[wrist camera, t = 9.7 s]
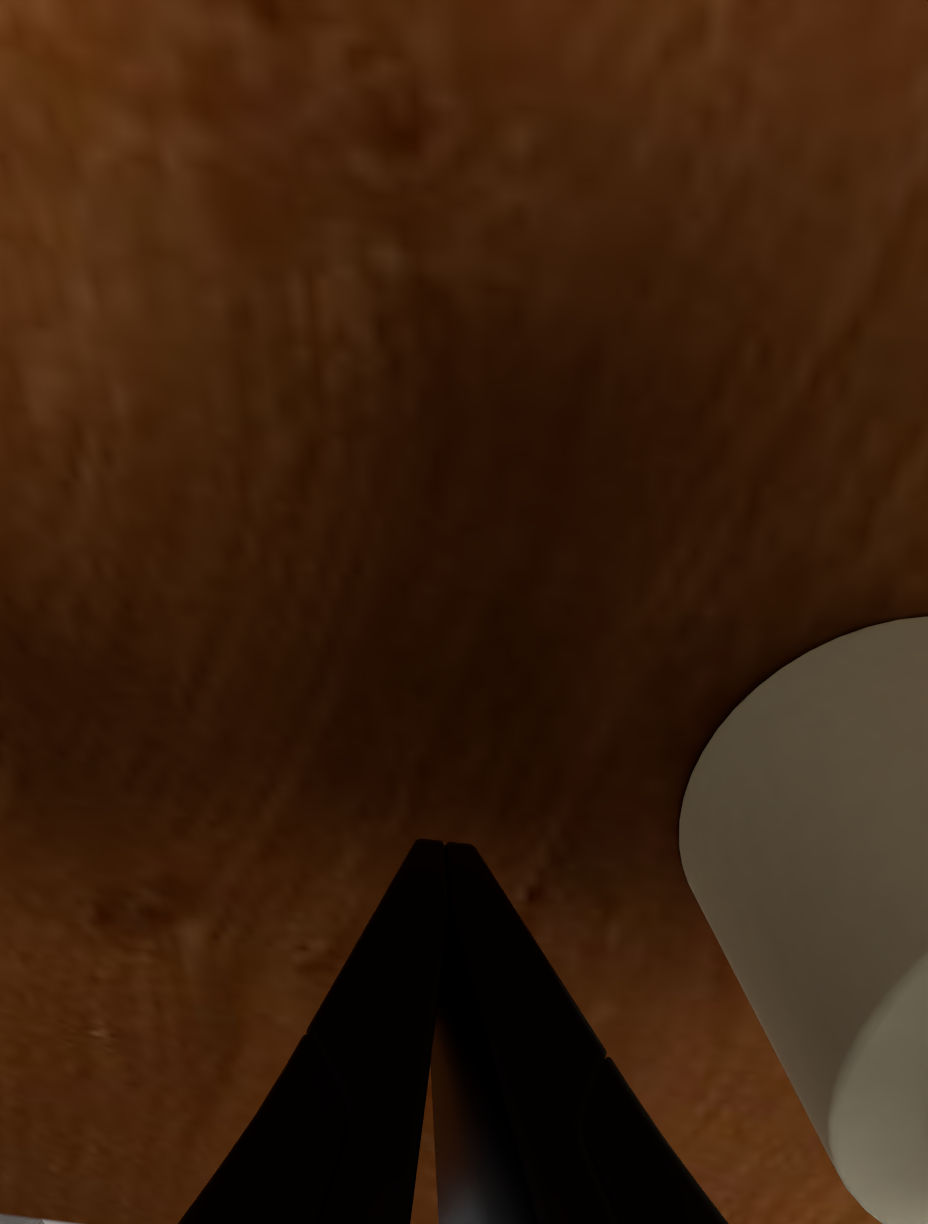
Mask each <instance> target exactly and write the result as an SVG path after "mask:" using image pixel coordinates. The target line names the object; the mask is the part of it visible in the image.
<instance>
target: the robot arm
mask: <svg viewBox="0 0 928 1224" xmlns="http://www.w3.org/2000/svg"><path fill="white" fill-rule="evenodd" d="M605 1057H606V1050H605V1048H604V1047H603V1045H602V1044H601V1042H600V1040H599V1039H598V1037H597V1036H596V1034H595V1033H594V1031H593V1030H592V1028H591V1026H590V1025H589V1023H588V1022H587V1020H586V1019H585V1017H584V1016H583V1014H582V1012H581V1011H580V1009H579V1008H578V1006H577V1005H576V1003H575V1002H574V1000H573V998H572V997H571V995H570V994H569V992H568V991H567V989H566V988H565V986H564V984H563V983H562V981H561V980H560V978H559V977H558V975H557V974H556V972H555V970H554V969H553V967H552V966H551V964H550V963H549V961H548V960H547V958H546V957H545V955H544V953H543V952H542V950H541V949H540V947H539V946H538V944H537V943H536V941H535V939H534V938H533V936H532V935H531V933H530V932H529V930H528V929H527V927H526V925H525V924H524V922H523V921H522V919H521V918H520V916H519V915H518V913H517V911H516V910H515V908H514V907H513V905H512V904H511V902H510V901H509V899H508V897H507V896H506V894H505V893H504V891H503V890H502V888H501V887H500V885H499V883H498V882H497V880H496V879H495V877H494V876H493V874H492V873H491V871H490V869H489V868H488V866H487V865H486V863H485V862H484V860H483V859H482V857H481V855H480V854H479V852H478V851H477V849H476V848H475V847H474V846H473V845H472V844H468V843H459V842H447V843H446V844H445V845H444V843H443V842H442V841H440V840H432V839H422V838H419V839H417V840H416V841H415V842H414V844H413V845H412V847H411V849H410V851H409V852H408V854H407V856H406V858H405V859H404V861H403V863H402V865H401V866H400V868H399V870H398V872H397V873H396V875H395V877H394V879H393V880H392V882H391V884H390V886H389V887H388V889H387V891H386V893H385V894H384V896H383V898H382V900H381V901H380V903H379V905H378V906H377V908H376V910H375V912H374V913H373V915H372V917H371V919H370V920H369V922H368V924H367V926H366V927H365V929H364V931H363V933H362V934H361V936H360V938H359V940H358V941H357V943H356V945H355V947H354V948H353V950H352V952H351V954H350V955H349V957H348V959H347V961H346V962H345V964H344V966H343V967H342V969H341V971H340V973H339V974H338V976H337V978H336V980H335V981H334V983H333V985H332V987H331V988H330V990H329V992H328V994H327V995H326V997H325V999H324V1001H323V1002H322V1004H321V1006H320V1008H319V1009H318V1011H317V1013H316V1015H315V1016H314V1018H313V1020H312V1022H311V1023H310V1025H309V1027H308V1029H307V1032H306V1035H304V1036H303V1037H302V1038H301V1040H300V1042H299V1043H298V1045H297V1047H296V1049H295V1050H294V1052H293V1054H292V1056H291V1057H290V1059H289V1061H288V1063H287V1064H286V1066H285V1068H284V1069H283V1071H282V1072H281V1074H280V1076H279V1077H278V1079H277V1081H276V1082H275V1084H274V1085H273V1087H272V1089H271V1090H270V1092H269V1094H268V1095H267V1097H266V1098H265V1100H264V1102H263V1103H262V1105H261V1107H260V1108H259V1110H258V1111H257V1113H256V1115H255V1116H254V1117H253V1119H252V1120H251V1122H250V1123H249V1125H248V1126H247V1128H246V1129H245V1130H244V1132H243V1133H242V1135H241V1136H240V1138H239V1139H238V1141H237V1142H236V1144H235V1145H234V1146H233V1148H232V1149H231V1151H230V1152H229V1154H228V1155H227V1157H226V1158H225V1159H224V1161H223V1162H222V1164H221V1165H220V1167H219V1168H218V1169H217V1171H216V1172H215V1174H214V1175H213V1176H212V1178H211V1179H210V1180H209V1182H208V1183H207V1184H206V1186H205V1187H204V1189H203V1190H202V1191H201V1193H200V1194H199V1195H198V1197H197V1198H196V1200H195V1201H194V1202H193V1204H192V1205H191V1206H190V1208H189V1209H188V1210H187V1212H186V1213H185V1215H184V1216H183V1217H182V1219H181V1220H180V1221H179V1223H178V1224H410V1220H411V1212H412V1204H413V1197H414V1189H415V1181H416V1173H417V1165H418V1157H419V1149H420V1141H421V1133H422V1125H423V1117H424V1109H425V1101H426V1093H427V1085H428V1078H429V1070H430V1064H431V1083H432V1102H433V1121H434V1140H435V1159H436V1178H437V1197H438V1216H439V1224H728V1222H727V1221H726V1220H725V1219H724V1217H723V1216H722V1215H721V1213H720V1212H719V1211H718V1209H717V1208H716V1207H715V1206H714V1204H713V1203H712V1202H711V1200H710V1199H709V1198H708V1196H707V1195H706V1194H705V1192H704V1191H703V1190H702V1188H701V1187H700V1186H699V1184H698V1183H697V1182H696V1180H695V1179H694V1178H693V1176H692V1175H691V1174H690V1172H689V1171H688V1169H687V1168H686V1167H685V1165H684V1164H683V1163H682V1161H681V1160H680V1159H679V1157H678V1156H677V1155H676V1153H675V1152H674V1151H673V1149H672V1148H671V1146H670V1145H669V1144H668V1142H667V1141H666V1140H665V1138H664V1137H663V1136H662V1134H661V1133H660V1131H659V1130H658V1128H657V1127H656V1125H655V1124H654V1122H653V1121H652V1119H651V1118H650V1116H649V1115H648V1113H647V1112H646V1110H645V1109H644V1107H643V1106H642V1104H641V1103H640V1102H639V1100H638V1099H637V1097H636V1096H635V1094H634V1093H633V1091H632V1090H631V1088H630V1087H629V1085H628V1084H627V1082H626V1080H625V1079H624V1077H623V1076H622V1074H621V1073H620V1071H619V1070H618V1068H617V1066H616V1065H615V1063H614V1062H613V1060H612V1059H611V1058H610V1057H606V1058H605Z"/></svg>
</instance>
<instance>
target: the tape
mask: <svg viewBox="0 0 928 1224" xmlns="http://www.w3.org/2000/svg"><path fill="white" fill-rule="evenodd" d="M679 848H680V854H681V861H682V866H683V869H684V872H685V875H686V878H687V881H688V884H689V886H690V888H691V890H692V892H693V894H694V896H695V898H696V900H697V902H698V903H699V905H700V907H701V909H702V911H703V913H704V915H705V917H706V919H707V921H708V923H709V925H710V927H711V929H712V931H713V933H714V934H715V936H716V938H717V940H718V942H719V944H720V946H721V948H722V950H723V952H724V954H725V956H726V958H727V960H728V962H729V964H730V966H731V967H732V969H733V971H734V973H735V975H736V977H737V979H738V981H739V983H740V985H741V987H742V989H743V991H744V993H745V995H746V997H747V998H748V1000H749V1002H750V1004H751V1006H752V1008H753V1010H754V1012H755V1014H756V1016H757V1018H758V1020H759V1022H760V1024H761V1026H762V1028H763V1030H764V1031H765V1033H766V1035H767V1037H768V1039H769V1041H770V1043H771V1045H772V1047H773V1049H774V1051H775V1053H776V1055H777V1057H778V1059H779V1061H780V1062H781V1064H782V1066H783V1068H784V1070H785V1072H786V1074H787V1076H788V1078H789V1080H790V1082H791V1084H792V1086H793V1088H794V1090H795V1092H796V1094H797V1095H798V1097H799V1099H800V1101H801V1103H802V1105H803V1107H804V1109H805V1111H806V1113H807V1115H808V1117H809V1119H810V1121H811V1123H812V1125H813V1126H814V1128H815V1130H816V1132H817V1134H818V1136H819V1138H820V1140H821V1142H822V1144H823V1146H824V1148H825V1150H826V1152H827V1154H828V1156H829V1158H830V1159H831V1161H832V1163H833V1165H834V1167H835V1169H836V1171H837V1173H838V1174H839V1176H840V1178H841V1180H842V1182H843V1184H844V1185H845V1187H846V1188H847V1190H848V1191H849V1192H850V1193H851V1194H852V1195H853V1196H854V1198H855V1199H856V1200H857V1201H858V1202H859V1203H860V1204H861V1206H862V1207H863V1208H864V1209H865V1210H866V1211H867V1212H868V1213H870V1214H871V1215H872V1216H874V1217H875V1218H876V1219H878V1220H879V1221H880V1222H881V1223H883V1224H928V616H926V617H917V618H909V619H901V620H895V621H891V622H886V623H882V624H878V625H874V626H870V627H866V628H863V629H860V630H858V631H855V632H852V633H849V634H846V635H844V636H841V637H838V638H836V639H834V640H831V641H829V642H827V643H825V644H823V645H821V646H819V647H817V648H815V649H813V650H811V651H809V652H807V653H805V654H804V655H802V656H800V657H799V658H797V659H796V660H794V661H792V662H791V663H789V664H787V665H786V666H784V667H783V668H781V669H780V670H778V671H777V672H776V673H775V674H773V675H772V676H771V677H769V678H768V679H767V680H765V681H764V682H763V683H762V684H760V685H759V686H758V687H757V688H755V689H754V690H753V691H752V692H751V693H750V694H749V695H748V696H747V697H746V698H745V699H744V700H743V701H742V702H741V703H740V704H739V705H738V706H737V707H736V708H735V709H734V710H733V711H732V712H731V714H730V715H729V716H728V717H727V718H726V720H725V721H724V722H723V723H722V724H721V726H720V727H719V728H718V729H717V731H716V732H715V734H714V735H713V737H712V738H711V740H710V741H709V743H708V744H707V746H706V747H705V749H704V750H703V752H702V754H701V756H700V758H699V760H698V762H697V764H696V766H695V768H694V770H693V772H692V774H691V777H690V780H689V783H688V786H687V789H686V792H685V795H684V798H683V804H682V809H681V815H680V821H679Z"/></svg>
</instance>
